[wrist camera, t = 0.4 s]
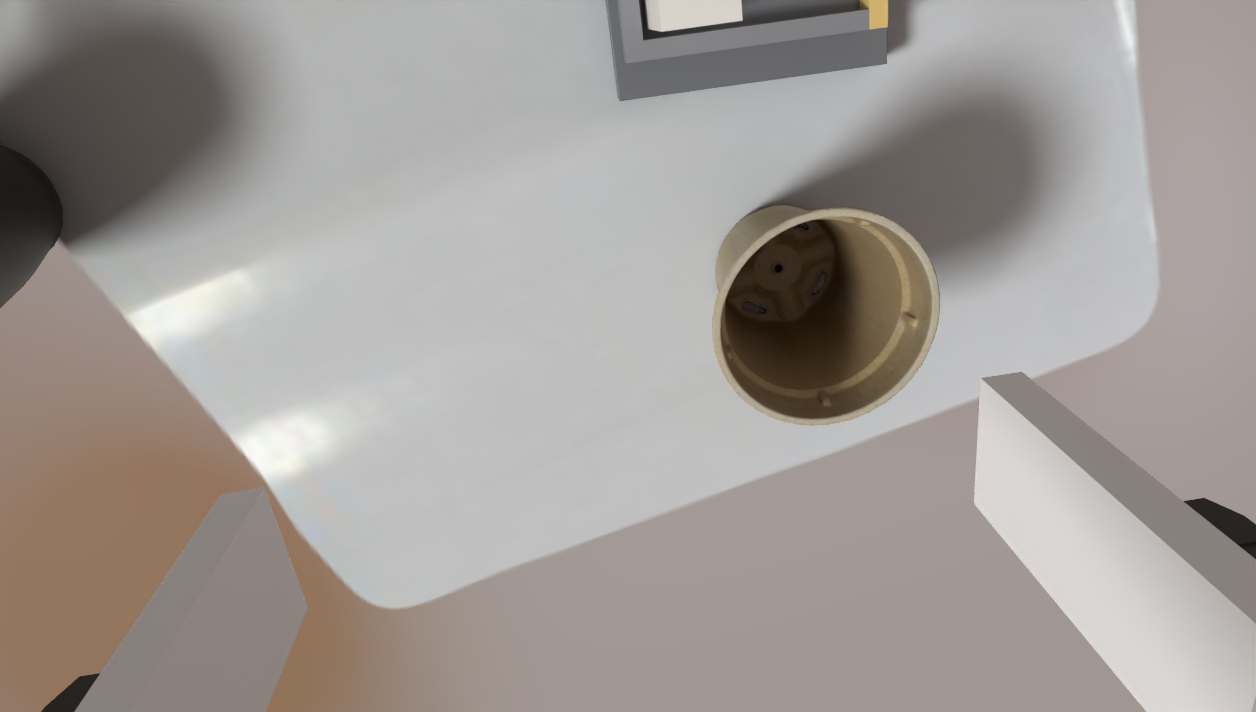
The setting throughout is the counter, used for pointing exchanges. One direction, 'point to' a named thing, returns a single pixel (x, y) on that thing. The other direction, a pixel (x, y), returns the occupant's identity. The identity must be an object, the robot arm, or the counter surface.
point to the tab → (690, 13)
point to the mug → (24, 220)
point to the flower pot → (822, 312)
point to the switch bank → (745, 45)
